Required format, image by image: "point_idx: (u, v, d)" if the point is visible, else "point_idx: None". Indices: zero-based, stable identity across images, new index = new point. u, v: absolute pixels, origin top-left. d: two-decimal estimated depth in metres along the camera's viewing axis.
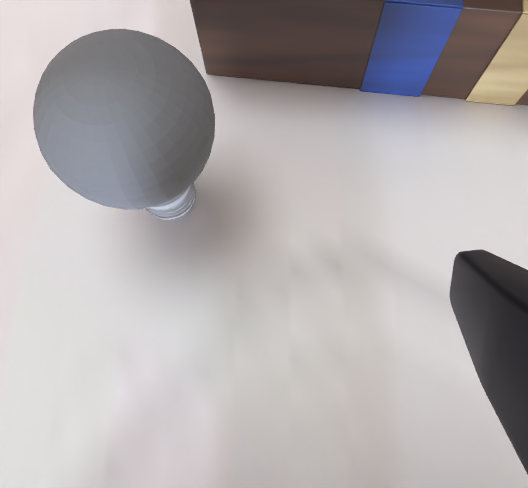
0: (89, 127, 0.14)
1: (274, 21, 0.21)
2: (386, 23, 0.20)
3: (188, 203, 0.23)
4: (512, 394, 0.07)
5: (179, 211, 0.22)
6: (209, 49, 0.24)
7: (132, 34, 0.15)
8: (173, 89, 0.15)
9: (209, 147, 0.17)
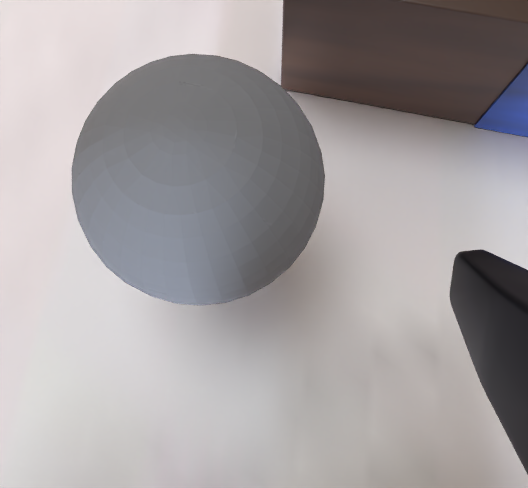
0: (158, 215, 0.09)
1: (391, 37, 0.16)
2: None
3: None
4: (512, 394, 0.07)
5: None
6: (292, 62, 0.18)
7: (227, 69, 0.10)
8: (283, 161, 0.10)
9: (313, 229, 0.12)
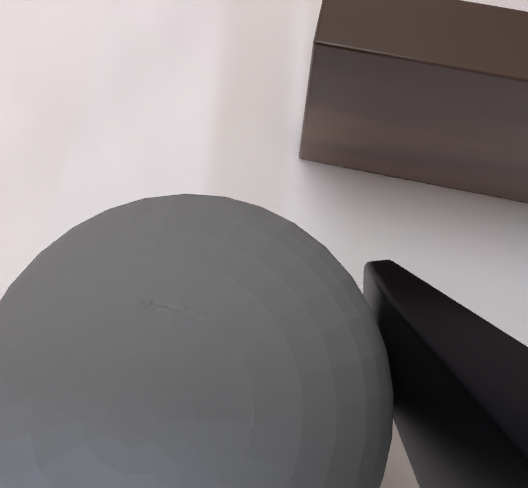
0: None
1: (461, 115, 0.11)
2: None
3: None
4: (404, 406, 0.07)
5: None
6: (317, 133, 0.14)
7: (234, 256, 0.06)
8: (341, 440, 0.05)
9: None
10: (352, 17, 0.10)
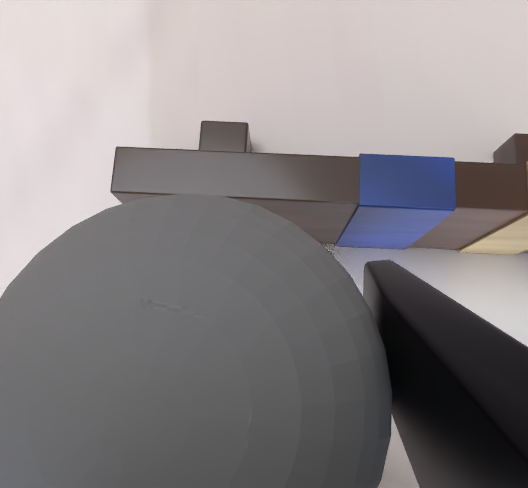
0: None
1: None
2: (361, 216, 0.17)
3: None
4: (404, 406, 0.07)
5: None
6: None
7: (233, 255, 0.06)
8: (339, 439, 0.05)
9: None
10: (133, 171, 0.16)
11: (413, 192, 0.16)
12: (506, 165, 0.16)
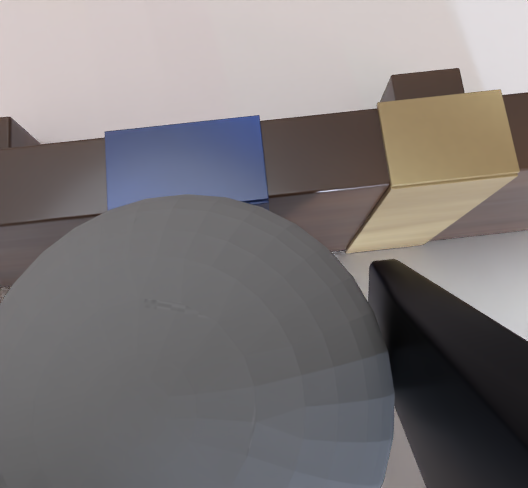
0: None
1: None
2: None
3: None
4: (410, 405, 0.07)
5: None
6: None
7: (236, 256, 0.06)
8: (342, 440, 0.05)
9: None
10: None
11: (198, 182, 0.09)
12: (346, 114, 0.10)
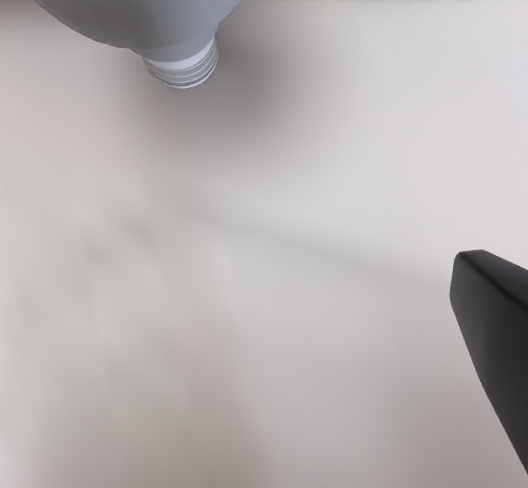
0: None
1: None
2: None
3: (208, 67, 0.16)
4: (512, 394, 0.07)
5: (195, 77, 0.16)
6: None
7: None
8: None
9: None
10: None
11: None
12: None
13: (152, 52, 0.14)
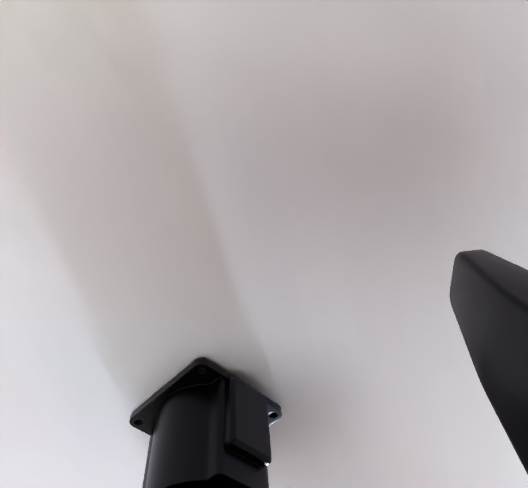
0: None
1: None
2: None
3: None
4: (512, 394, 0.07)
5: None
6: None
7: None
8: None
9: None
10: None
11: None
12: None
13: None
